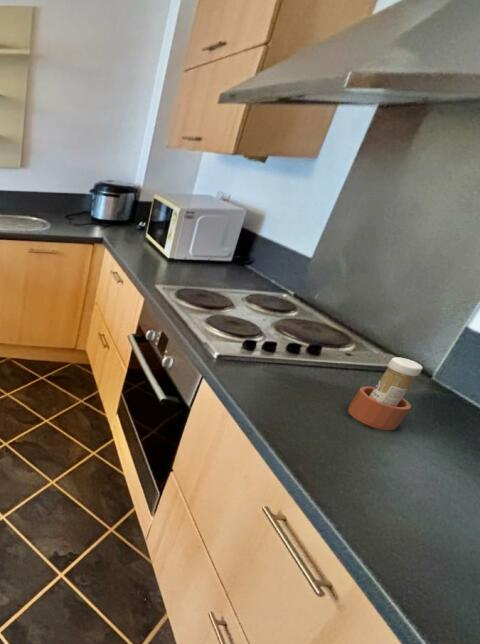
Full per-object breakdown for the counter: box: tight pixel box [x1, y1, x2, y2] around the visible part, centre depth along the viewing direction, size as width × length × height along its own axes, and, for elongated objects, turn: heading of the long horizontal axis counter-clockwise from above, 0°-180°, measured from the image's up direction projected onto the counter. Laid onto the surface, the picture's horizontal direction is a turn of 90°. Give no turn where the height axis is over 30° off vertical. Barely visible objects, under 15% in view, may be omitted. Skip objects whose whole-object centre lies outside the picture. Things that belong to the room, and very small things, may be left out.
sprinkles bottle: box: [369, 356, 423, 407], centre depth 85 cm, size 5×5×14 cm
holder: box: [347, 385, 412, 432], centre depth 87 cm, size 8×8×6 cm
